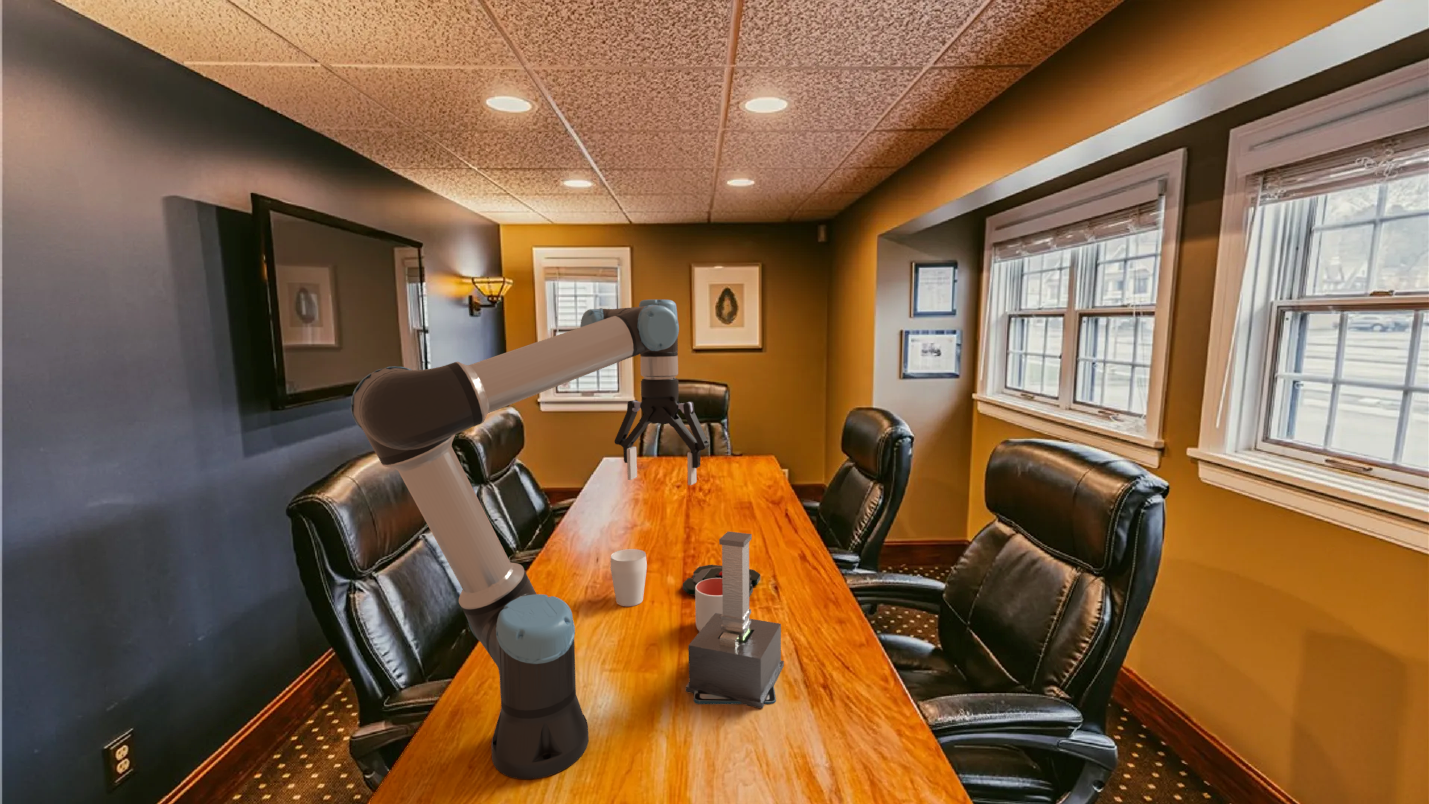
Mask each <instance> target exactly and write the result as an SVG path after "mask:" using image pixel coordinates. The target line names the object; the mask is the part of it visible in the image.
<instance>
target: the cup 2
mask: <svg viewBox="0 0 1429 804" xmlns="http://www.w3.org/2000/svg"><path fill="white" fill-rule="evenodd" d="M694 596H695V597H694V598H695V607H694V609H695V627H696V629H697V631H698V632H700V631H701V630H702V628H703V627H704V626H705V625H706V624H707V622H708V621H709V620H710V619H711V618H712V616H713V615H714V614H715V613H718V614H723V590H722V578H711V579H706V580H703V581H701V582H699V583H698V584H697V585H696V586H695V595H694Z"/></svg>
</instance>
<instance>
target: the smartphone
mask: <svg viewBox="0 0 1429 804" xmlns="http://www.w3.org/2000/svg"><path fill="white" fill-rule="evenodd" d="M693 702H694V704H696V705H742V704H741V701H736V700H732V699H728V698H724V697H720V696H716V695H711V694H707V693H703V692H699V691H695V690H694V693H693ZM776 702H777V697H776V690H775V685H773V687H772V689H771V691H770V693H769V695H768V697H767V699H766V701H765V705H773V704H776Z"/></svg>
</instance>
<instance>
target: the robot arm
mask: <svg viewBox="0 0 1429 804" xmlns="http://www.w3.org/2000/svg"><path fill="white" fill-rule="evenodd" d="M677 309H678V307H677V303H676V302H675V301H673V300H671V299H643V300H640V302H639V304H638V306H635V307H633V306H632V307H623V308H611V309H610V308H590V309H587V310H585V311H584V313H583V315H582V317H581V319H580V326H579V327H577V328H575V329H572V330H568V331H566V332H562V333H560V334H557V335H554V336H551V337H548V338H544V339H542V340H539V341H536V342H533V343H530V344H528V345H525V346H522V347H519V348H515V349H513V350H510V351H507V352H504V353H501V354H497V355H495V356H492V357H489V358H485V359H482V360H480V361H478V362H475V363H470V364H465V363H462V362H460V361H455V362H451V363H449V364H445V365H442V366H436V367H434V368H433V367H432V368H426V369H415V370H413V369H411V368H408V367H403V366H396V365H394V366H387V367H384V368H380V369H376V370H374V371H373V372H370V373H369V374H367V375H366V376H364V378H362V380H360V381H359V383H358V384H357V385H356V387H355V388H354V389H353V390H354V391H353V392H352V396H351V399H350V401H351V402H350V412H351V415H352V418H353V420H354V421H355V424H356V425H357V426H358V428H360V429H361V430H362V431H363V432H364V434H365V436H366V438H367V440H368V442H369V444H370V446H371V447H372V449H373V451H374V453H375V454H376V456H377V458H378V460H379V461H380V464H381V465H382V466H383V467H385V468H388V469H389V468H390V469H392V470H396V471H398V473H399V476H400V477H401V479H402V480H403V483H404V484H405V487H406V488H407V490H408V492H409V493H410V496H411V497H412V499H413V501H414V503H415V504H416V506H417V508H418V510H419V512H420V514H421V516H422V517H423V519H424V521H425V523H426V525H427V527H428V528H429V531H431V533H432V535H433V537H434V539H435V540H436V543H437V545H438V546H439V549H440V550H441V552H442V554H443V555H444V558H445V560H446V561H447V563H448V565H449V567H450V569H451V571H452V573H453V574H454V576H455V578H456V579H457V581H458V583H459V585H460V587H461V588H462V590H461V592H460V594H459V597H458V603H459V604H458V605H460V608H461V609H462V611H463V613H464V615H465V617H466V619H467V622H468V626H469V629H470V630H471V633H472V634H473V636H474V637H475V638H476V639H477V640H478V641H479V642H480V643H481V645H482V646H483V648H484V649H485V650H486V651H487V653H488V655H489V656H490V658H491V659H492V660H493V662H494V664H495V665H496V667H497V669H498V673H499V691H500V711H499V715H498V717H497V721H496V725H495V728H494V731H493V732H494V733H493V736H492V739H491V744H490V745H491V761H492V764H493V766H494V767H495V769H496V770H497V771H499V773H501V774H503V775H505V776H507V777H510V778H513V779H519V780H534V779H541V778H545V777H549V776H552V775H554V774H558V773H560V772H561V771H564V770H565V769H568V768H569V767H570V766H572V765H573V764H574V763H576V762H577V761H578V760H579V759H580V758H581V757H582V756H583V755H584V753H585V751H586V749H587V748H588V744H589V738H590V737H589V724H588V721H587V719H586V716H585V715H584V712H583V711H582V710H583V709H582V706H581V704H580V702H579V699H578V696H577V685H576V684H577V683H576V682H577V679H576V650H575V649H576V648H575V647H576V646H575V633H576V627H575V622H574V618H573V612H572V610H571V608H570V606H569V605H568V603H566V602H565V601H564V600H563V599H561V598H559V597H556V596H554V595H553V596H552V595H551V596H548V595H547V594H542V593H541V594H539V593H538V594H537V592H536V591H535V588H534V586H533V585H532V583H531V580H530V578H529V576H528V574H527V572H526V570H525V568H524V566H523V565H522V564H520V563H517V562H511V561H510V559H509V557H508V555H507V553H506V552H505V549H504V547H503V545H502V544H501V541H500V540H499V537H498V535H497V533H496V531H495V530H494V528H493V525H492V524H491V522H490V520H489V518H488V516H487V514H486V512H485V510H484V508H483V505H482V504H481V502H480V500H479V498H478V496H477V494H476V492H475V490H474V488H473V486H472V484H471V482H470V480H469V479H468V476H467V474H466V472H465V470H464V468H463V466H462V465H461V463H460V461H459V458H458V456H457V454H456V452H455V451H454V448H453V445H452V444H453V441H454V439H455V436H456V435H457V434H459V433H463V432H465V431H467V430H469V429H471V428H474V427H476V426H479V425H481V424H484V423H485V420H486V417H487V416H488V414H490V413H493V412H495V411H497V410H500V409H502V408H505V407H507V406H510V405H513V404H515V403H518V402H521V401H523V400H525V399H528V398H531V397H534V396H536V395H539V394H541V393H544V392H547V391H549V390H551V389H553V388H556V387H559V386H561V385H563V384H567V383H569V382H572V381H574V380H577V379H579V378H582V377H585V376H587V375H589V374H593V373H595V372H597V371H599V370H602V369H605V368H607V367H611V366H612V365H615V364H618V363H620V362H623V361H625V360H628V359H630V358H633V357H636V356H640V376H642V377H643V378H641V380H640V393H641V394H640V395H641V398H642V399H641V401H638V400H637V399H634V400H628V401H627V403H626V404H627V406H626V412H625V415H624V418H623V420H622V422H621V424H620V427H619V429H618V432H617V434H616V436H615V439H614V444H615V445H619V446H620V447H622V449H623V462H624V464H626V467H627V469H626V471H627V472H626V473H627V481H628V480H629V481H633V480H634V479H636V478H638V467H637V466H638V465H637V459H638V457H637V456H638V455H637V454H638V453H637V446H634V445H635V443H636V441H637V440H638V439H639V438H640V436H641V435H642V433H644V431H645V430H646V429H647V427H648V426H649V424H652V425H653V424H654V425H655V424H660V425H667V424H669V425H670V427H672V428H673V429H674V431H675V432H676V433H677V435H678V436H679V437H680V438H681V440H682V441H683V442H684V443H685V445H686V446H687V447H688V449H689V450H690V451H688V452H686V453H687V485H688V486H692V485H695V484H696V483H697V476H698V475H697V469H699V468H700V467H701V451H703V450H706V449H708V448H710V443H709V440H708V438H707V436H706V434H705V432H704V430H703V427H702V426H701V423H700V421H699V419H698V417H697V415H696V413H695V407H694V406H695V405H694V402H693V401H688V402H683V403H682V402H681V403H680V401H679V387H680V386H679V379H678V378H676V377H677V376H678V375H679V355H678V354H679V353H678V351H679V344H678V343H679V342H678V340H679V339H678V337H679V332H680V325H679V324H680V323H679V319H678V310H677ZM640 410H641V411H642V412H643V413H642V414H643V415H642V416H641V417H640V418H639V420H638V423H637V424H636V425H635V426H634V428H632V426H633V423H634V421H635V419H636V417H637V414H638V412H639V411H640ZM680 411H681V413H682V414H684V418H685V421H686V422H687V424H688V426H689V429H690V430H691V431H690V430H689V429H688V427H687V426H686V425H685V424H684V421H683V419H682V418H681V417H680V415H679V414H678V413H679V412H680ZM631 428H632V430H631ZM630 430H631V432H630ZM691 432H692V433H691Z"/></svg>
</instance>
